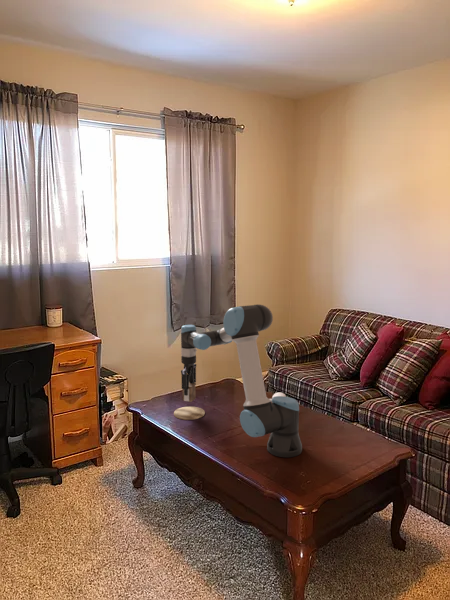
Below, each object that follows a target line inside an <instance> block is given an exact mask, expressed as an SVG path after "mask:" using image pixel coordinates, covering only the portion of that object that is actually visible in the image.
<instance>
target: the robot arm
mask: <svg viewBox="0 0 450 600" xmlns="http://www.w3.org/2000/svg"><path fill="white" fill-rule="evenodd" d="M273 320H274V317H273V313H272V311H271V309H270V308H268V306H266V305H264V304H252V305H249V304H248V305H241V306H235V307H231V308H229V309H227V311H226V312H225V314H224V317H223V321H222V322H223V327H222V328H219V329H215V330H209V331H202V332H201V331H200V332H199V331H197V327H196V325H194V324H185V325H182V326H181V329H180V343H181V344H180V345H181V347H180V348H181V349H180V353H181V354H180V355H181V356H180V358H181V360H180V361H181V363H182V364H183V369H181V370H180V373H181V374H180V375H181V389H184V402H189V389H188V388H189V383H193V384H195V386H196V385H197V364H196V363H197V351H198V350H202V351H205V350H207V349H208V348H210V347H214V346H221V345H228V344H231V343H232V342H233V343H235V344H236V350H237V355H238V362H239V367H240V374H241V378H242V379H241V380H242V384H243V389H244V396H245V401H244V403H243V405H242V406H243V410H242V411H241V412H240V415H239V422H240V426H241V428H242V430H243V431H244V433H245V434H247V435H248V436H249V437H251V438H258V437H264V436H265V435H269V437H268V440H267V443H266V446H267V447H266V450H267V452H268V453H269V454H270V455H272V456H275V457H281V458H294V457H297V456H299V455H301V454H302V452H303V444H302V441H301V438H300V435H299V426H300V425H299V424H300V423H299V422H300V404H299V403H300V402H298V400H296V399H295V398H292V397H289V396H286V397H284V396H275V397H273V396H272V397H273V398H272V397H271V398H268V397H267V394H266V393H267V392H266V387H265V382H264V377H263V376H264V375H263V371H262V366H261V360H260V354H259V348H258V343H257V339H258V338H259V336H260V334H259V332H262V331H265V330H267V329H269V328H270V327H271V325H272V323H273ZM270 399H272V400H270ZM271 401H272V402H271Z"/></svg>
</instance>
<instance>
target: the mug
mask: <svg viewBox="0 0 450 600" xmlns="http://www.w3.org/2000/svg"><path fill="white" fill-rule="evenodd" d="M275 396H284V397H287V395H286V394H285V393H284V392H275V393H274V394H273V395H272V397H271V398H269V399H270V400H272V398H273V397H275ZM271 403H272V401H271Z"/></svg>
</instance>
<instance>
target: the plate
mask: <svg viewBox="0 0 450 600" xmlns="http://www.w3.org/2000/svg"><path fill="white" fill-rule="evenodd" d="M205 414H206V412H205V410H204V409H203V408H201V407H197V406H183V407H179V408H176V409H175V410H174V412H173V416H174V417H175V418H177V420H178V419H179V420H185V421H193V420H198V419H202V418H203V417H204V416H205Z"/></svg>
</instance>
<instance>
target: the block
mask: <svg viewBox="0 0 450 600" xmlns="http://www.w3.org/2000/svg"><path fill="white" fill-rule="evenodd" d="M181 389H182V388H181ZM188 389H189V401H188V402H189V403H192V402H193V401H195V400H196V397H197V396H196V385H195V384H193V383H189V388H188ZM181 392H182V393H181V395H182V401H184V389H182V391H181ZM184 402H185V401H184Z"/></svg>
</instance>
